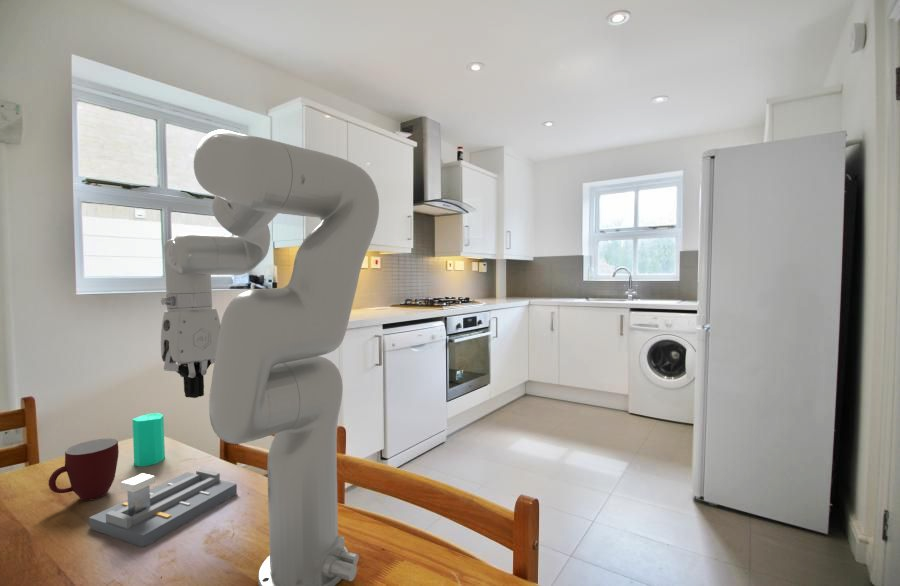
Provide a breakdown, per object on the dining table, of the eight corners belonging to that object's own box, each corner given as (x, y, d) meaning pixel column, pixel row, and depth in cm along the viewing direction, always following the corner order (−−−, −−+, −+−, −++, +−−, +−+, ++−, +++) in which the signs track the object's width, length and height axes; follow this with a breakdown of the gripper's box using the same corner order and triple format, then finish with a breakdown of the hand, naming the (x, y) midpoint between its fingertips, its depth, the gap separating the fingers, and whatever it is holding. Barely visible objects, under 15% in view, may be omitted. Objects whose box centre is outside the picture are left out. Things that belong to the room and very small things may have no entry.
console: (236, 493, 85) (236, 476, 85) (143, 547, 69) (142, 526, 69) (187, 481, 91) (186, 465, 90) (89, 528, 74) (88, 508, 74)
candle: (140, 468, 97) (138, 416, 96) (129, 462, 100) (127, 411, 100) (169, 459, 102) (168, 409, 101) (157, 453, 105) (156, 405, 105)
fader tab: (156, 508, 76) (154, 475, 76) (134, 519, 73) (133, 485, 72) (144, 505, 77) (142, 472, 77) (122, 515, 74) (121, 482, 73)
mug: (62, 517, 77) (59, 463, 77) (42, 506, 81) (40, 454, 81) (128, 491, 87) (126, 442, 86) (108, 482, 90) (106, 435, 90)
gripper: (165, 304, 75) (170, 409, 75) (236, 300, 89) (240, 388, 89) (136, 305, 78) (142, 405, 78) (210, 300, 91) (214, 386, 92)
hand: (194, 396), depth 84 cm, fingers closed
